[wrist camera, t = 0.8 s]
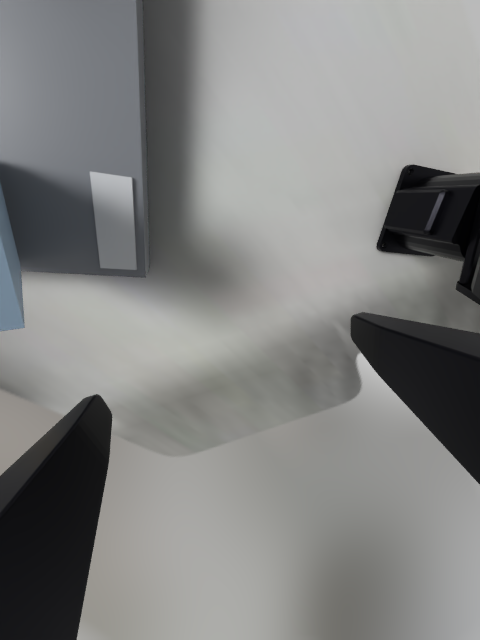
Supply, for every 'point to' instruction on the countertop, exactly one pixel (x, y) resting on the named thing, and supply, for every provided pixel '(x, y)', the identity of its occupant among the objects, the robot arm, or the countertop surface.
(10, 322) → the panel
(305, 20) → the countertop surface
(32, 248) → the switch panel
